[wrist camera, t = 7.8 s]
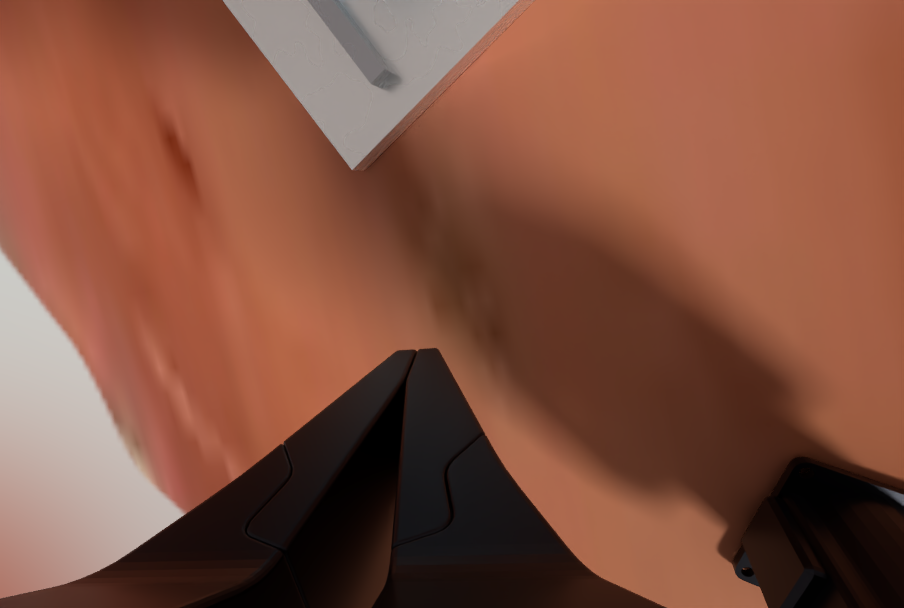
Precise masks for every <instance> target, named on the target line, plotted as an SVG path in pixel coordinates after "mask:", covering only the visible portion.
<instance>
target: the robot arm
mask: <svg viewBox="0 0 904 608" xmlns="http://www.w3.org/2000/svg"><path fill="white" fill-rule="evenodd" d="M283 444H284V445H283ZM283 444H280V445H279V446H278V447H276V448H275V449H274V450H273V451H271V452H270V453H269V454H268V455H266V456H265V457H264V458H263V459H261V460H260V461H259V462H257V463H256V464H255V465H254V466H252V467H251V468H250V469H248V470H247V471H246V472H244V473H243V474H242V475H241V476H239V477H238V478H236V479H235V480H234V481H232V482H231V483H229V484H228V485H227V486H225V487H224V488H222V489H221V490H220V491H218V492H217V493H215V494H214V495H213V496H211V497H210V498H208V499H207V500H205V501H204V502H203V503H201V504H200V505H198V506H197V507H195V508H194V509H192V510H191V511H190V512H188V513H187V514H185V515H184V516H182V517H181V518H179V519H178V520H177V521H175V522H174V523H172V524H171V525H169V526H168V527H166V528H165V529H164V530H162V531H161V532H159V533H158V534H156V535H155V536H154V537H152V538H151V539H149V540H148V541H146V542H145V543H143V544H142V545H140V546H139V547H138V548H136V549H135V550H133V551H132V552H130V553H129V554H127V555H126V556H124V557H122V558H121V559H119V560H118V561H116V562H115V563H113V564H111V565H109V566H107V567H105V568H103V569H101V570H100V571H97V572H95V573H93V574H91V575H88V576H86V577H84V578H81V579H79V580H76V581H73V582H70V583H67V584H64V585H60V586H56V587H52V588H47V589H43V590H38V591H33V592H29V593H24V594H19V595H15V596H10V597H6V598H1V599H0V608H666V607H664V606H662V605H660V604H657V603H655V602H653V601H651V600H649V599H646V598H644V597H642V596H640V595H638V594H635V593H633V592H631V591H629V590H627V589H624V588H622V587H620V586H618V585H616V584H613V583H611V582H609V581H607V580H605V579H603V578H601V577H599V576H598V575H596V574H595V573H593V572H592V571H591V570H590V569H588V568H587V567H586V566H585V565H584V564H583V563H582V562H581V561H580V560H579V559H578V558H577V557H576V556H575V555H574V554H573V553H572V552H571V550H570V549H569V548H568V547H567V546H566V544H565V543H564V542H563V541H562V539H561V538H560V537H559V536H558V534H557V533H556V532H555V531H554V530H553V528H552V527H551V526H550V525H549V523H548V522H547V521H546V520H545V518H544V517H543V516H542V515H541V513H540V512H539V511H538V510H537V508H536V507H535V506H534V505H533V503H532V502H531V501H530V500H529V498H528V497H527V496H526V495H525V493H524V492H523V491H522V490H521V488H520V487H519V486H518V484H517V483H516V482H515V480H514V479H513V478H512V476H511V475H510V474H509V472H508V471H507V470H506V468H505V467H504V465H503V463H502V462H501V460H500V459H499V457H498V455H497V454H496V452H495V450H494V449H493V447H492V445H491V443H490V442H489V440H488V438H487V436H485V433H484V431H483V429H482V428H481V426H480V424H479V422H478V420H477V418H476V417H475V415H474V413H473V411H472V409H471V408H470V406H469V404H468V402H467V400H466V398H465V397H464V395H463V393H462V391H461V389H460V388H459V386H458V384H457V382H456V380H455V379H454V377H453V375H452V373H451V371H450V369H449V368H448V366H447V364H446V362H445V360H444V359H443V357H442V355H441V353H440V351H439V350H438V349H437V348H429V349H419V350H418V351H416V350H399V351H396V352H395V353H393V354H392V355H391V356H390V357H388V358H387V359H386V360H385V361H383V362H382V363H381V364H380V365H379V366H377V367H376V368H375V369H374V370H372V371H371V372H370V373H369V374H367V375H366V376H365V377H364V378H362V379H361V380H360V381H359V382H357V383H356V384H355V385H354V386H352V387H351V388H350V389H349V390H347V391H346V392H345V393H344V394H342V395H341V396H340V397H339V398H338V399H336V400H335V401H334V402H333V403H331V404H330V405H329V406H328V407H326V408H325V409H324V410H323V411H321V412H320V413H319V414H318V415H316V416H315V417H314V418H313V419H311V420H310V421H309V422H308V423H306V424H305V425H304V426H303V427H301V428H300V429H299V430H298V431H296V432H295V433H294V434H293V435H291V436H290V437H289V438H288V439H286V440H285V441H284V443H283ZM803 468H810V469H809V471H808V472H806V473H799V472H800V470H801V469H803ZM741 542H742V546H741V548H740V550H739V551H738V553H737V555H736V557H735V558H734V560H733V563H732V564H733V568H734V570H735V573H736V575H737V576H738V577H739V578H740V579H742V580H744V581H746V582H749V583H751V584H754V585H756V586H759V587H760V588H761V591H762V593H763V596H764V598H765V601H766V603H767V606H768V608H904V490H901V489H898V488H895V487H892V486H889V485H886V484H883V483H880V482H878V481H875V480H872V479H869V478H866V477H863V476H860V475H857V474H854V473H851V472H848V471H845V470H842V469H839V468H836V467H833V466H831V465H828V464H825V463H822V462H819V461H816V460H813V459H810V458H806V457H798V458H795V459H793V460H792V461H791V462H790V463H789V465H788V466H787V468H786V470H785V471H784V473H783V475H782V477H781V478H780V480H779V482H778V484H777V485H776V487H775V489H774V491H773V492H772V494H771V495H770V496H768V497H766V498H765V499H764V501H763V502H762V504H761V506H760V508H759V509H758V511H757V513H756V515H755V516H754V518H753V520H752V522H751V523H750V525H749V527H748V529H747V530H746V532H745V534H744V536H743V537H742V539H741ZM745 567H749V568H750V569H748V570H744V569H743V568H745Z"/></svg>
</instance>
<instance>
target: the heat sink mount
mask: <svg viewBox="0 0 904 608" xmlns="http://www.w3.org/2000/svg"><path fill="white" fill-rule="evenodd" d="M534 1H535V0H223V2H224V3H225V4H226V6H227V7H228V8H229V10H230V11H231V12H232V14H233V15H234V16H235V17H236V19H237V20H238V21H239V23H240V24H241V25H242V27H243V28H244V29H245V31H246V32H247V33H248V34H249V36H250V37H251V38H252V40H253V41H254V42H255V44H256V45H257V46H258V48H259V49H260V50H261V52H262V53H263V54H264V55H265V57H266V58H267V59H268V61H269V62H270V63H271V65H272V66H273V67H274V69H275V70H276V71H277V72H278V74H279V75H280V76H281V78H282V79H283V80H284V82H285V83H286V84H287V86H288V87H289V88H290V89H291V91H292V92H293V93H294V95H295V96H296V97H297V99H298V100H299V101H300V103H301V104H302V105H303V106H304V108H305V109H306V110H307V112H308V113H309V114H310V116H311V117H312V118H313V120H314V121H315V122H316V124H317V125H318V126H319V127H320V129H321V130H322V131H323V133H324V134H325V135H326V137H327V138H328V139H329V141H330V142H331V143H332V144H333V146H334V147H335V148H336V150H337V151H338V152H339V154H340V155H341V156H342V158H343V159H344V160H345V161H346V163H347V164H348V165H349V167H350V168H351V169H352V170H360V171H365V170H366V169H367V168H368V167H369V166H370V165H371V164H372V163H373V162H374V161H375V160H376V159H377V158H378V157H379V156H380V155H381V154H382V153H383V152H384V151H385V150H386V149H387V148H388V147H389V146H390V145H391V144H392V143H393V142H394V141H395V140H396V139H397V138H398V137H399V136H400V135H401V134H402V133H403V132H404V131H405V130H406V129H407V128H408V127H409V126H410V125H411V124H412V123H413V122H414V121H415V120H416V119H417V118H418V117H419V116H420V115H421V114H422V113H423V112H424V111H425V110H426V109H427V108H428V107H429V106H430V105H431V104H432V103H433V102H434V101H435V100H436V99H437V98H438V97H439V96H440V95H441V94H442V93H443V92H444V91H445V90H446V89H447V88H448V87H449V86H450V85H451V84H452V83H453V82H454V81H455V80H456V79H457V78H458V77H459V76H460V75H461V74H462V73H463V72H464V71H465V70H466V69H467V68H468V67H469V66H470V65H471V64H472V63H473V62H474V61H475V60H476V59H477V58H478V57H479V56H480V55H481V54H482V53H483V52H484V51H485V50H486V49H487V48H488V47H489V46H490V45H491V44H492V43H493V42H494V41H495V40H496V39H497V38H498V37H499V36H500V35H501V34H502V33H503V32H504V31H505V30H506V29H507V28H508V27H509V26H510V25H511V24H512V23H513V22H514V21H515V20H516V19H517V18H518V17H519V16H520V15H521V14H522V13H523V12H524V11H525V10H526V9H527V8H528V7H529V6H530V5H531V4H532V3H533V2H534Z"/></svg>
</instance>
